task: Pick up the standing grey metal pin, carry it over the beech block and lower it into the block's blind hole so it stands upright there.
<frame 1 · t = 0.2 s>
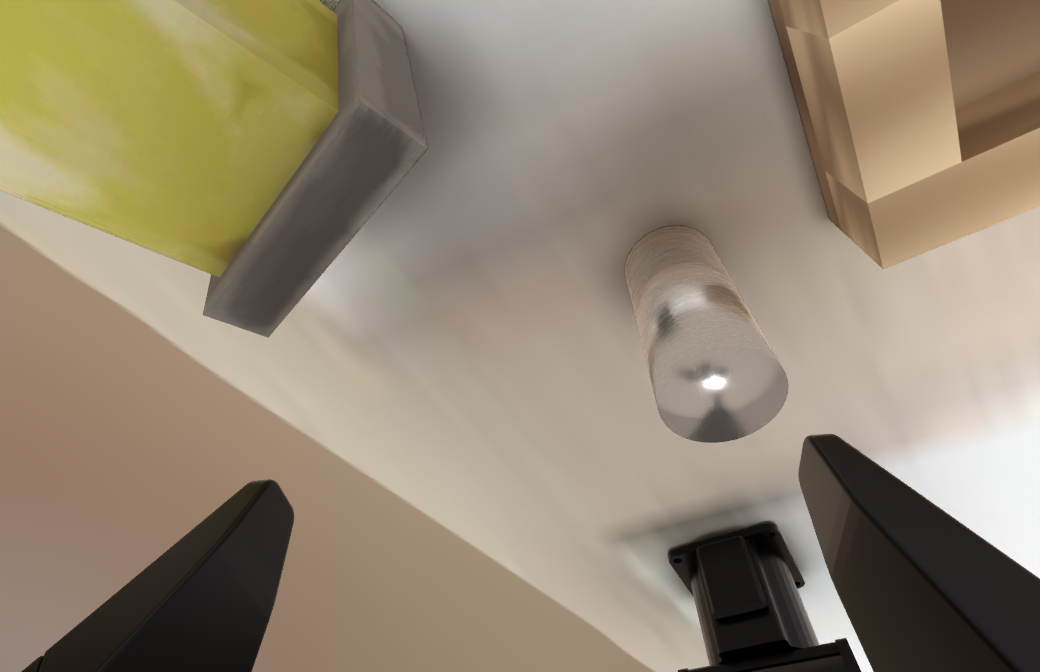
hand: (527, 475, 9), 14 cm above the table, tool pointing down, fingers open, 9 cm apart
bore block: (961, 10, 17), on the table
pin: (669, 267, 22), on the table
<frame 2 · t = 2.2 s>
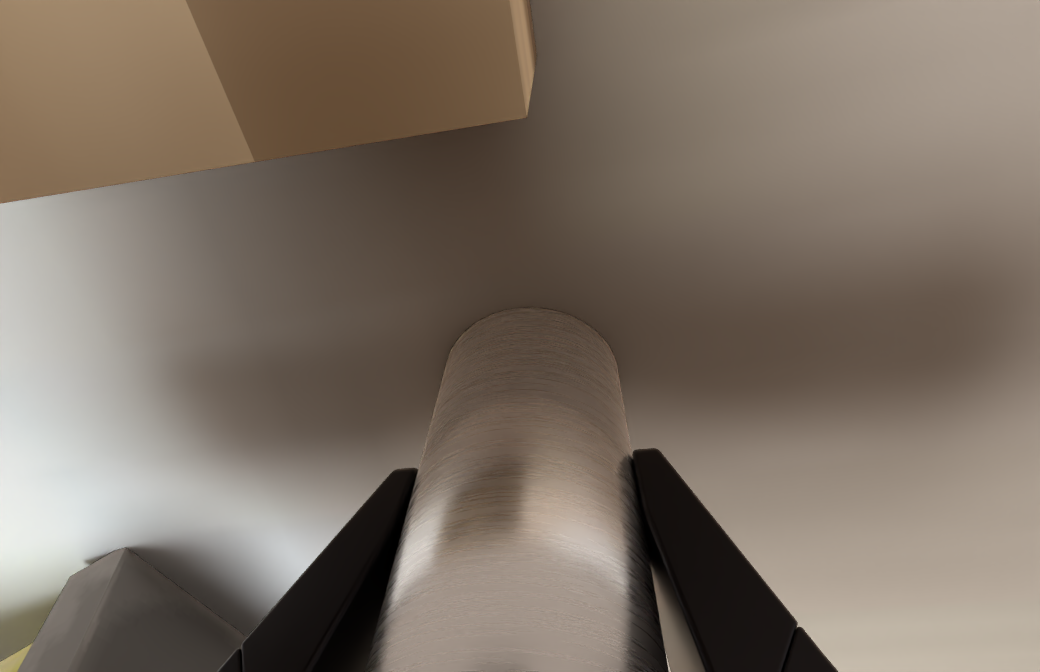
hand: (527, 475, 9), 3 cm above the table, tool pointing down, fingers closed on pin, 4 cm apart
pin: (531, 381, 11), on the table, touching gripper
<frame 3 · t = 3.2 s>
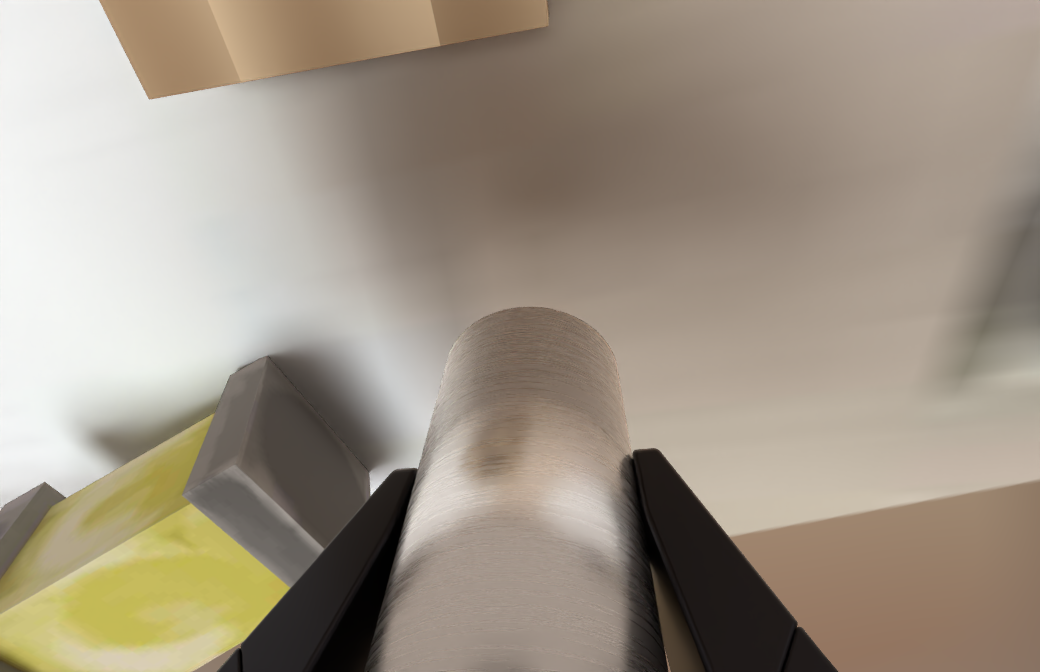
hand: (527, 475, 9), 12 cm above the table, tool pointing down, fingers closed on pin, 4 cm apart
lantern: (108, 490, 29), on the table
pin: (531, 380, 11), point 9 cm above the table, touching gripper
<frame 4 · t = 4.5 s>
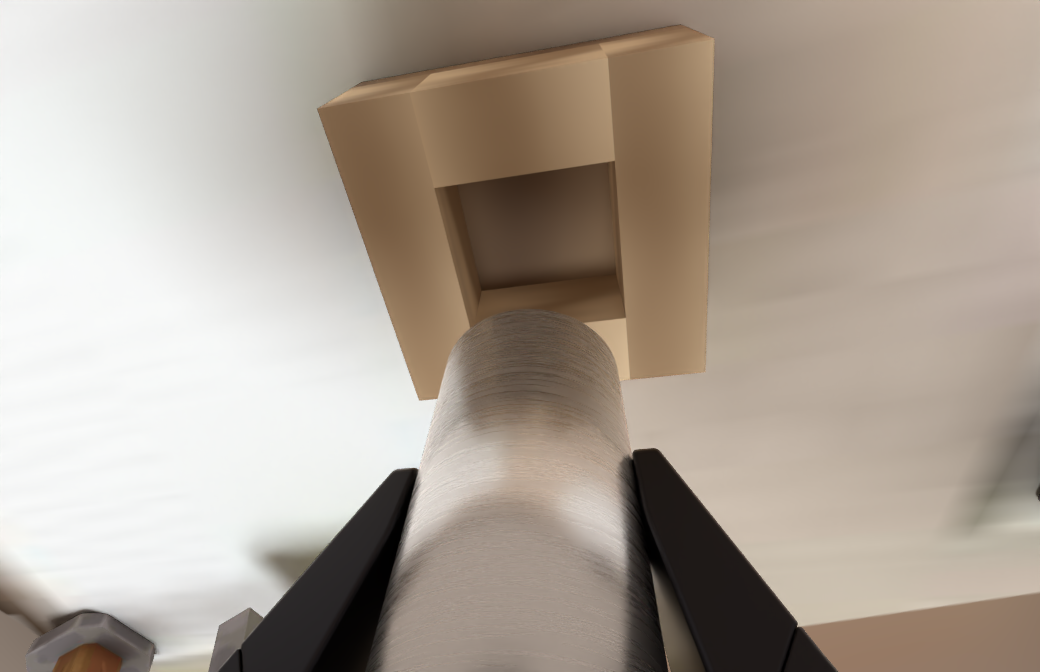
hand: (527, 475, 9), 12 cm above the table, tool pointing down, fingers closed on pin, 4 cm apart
bore block: (538, 208, 20), on the table
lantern: (265, 591, 35), on the table
pin: (531, 382, 11), point 10 cm above the table, touching gripper
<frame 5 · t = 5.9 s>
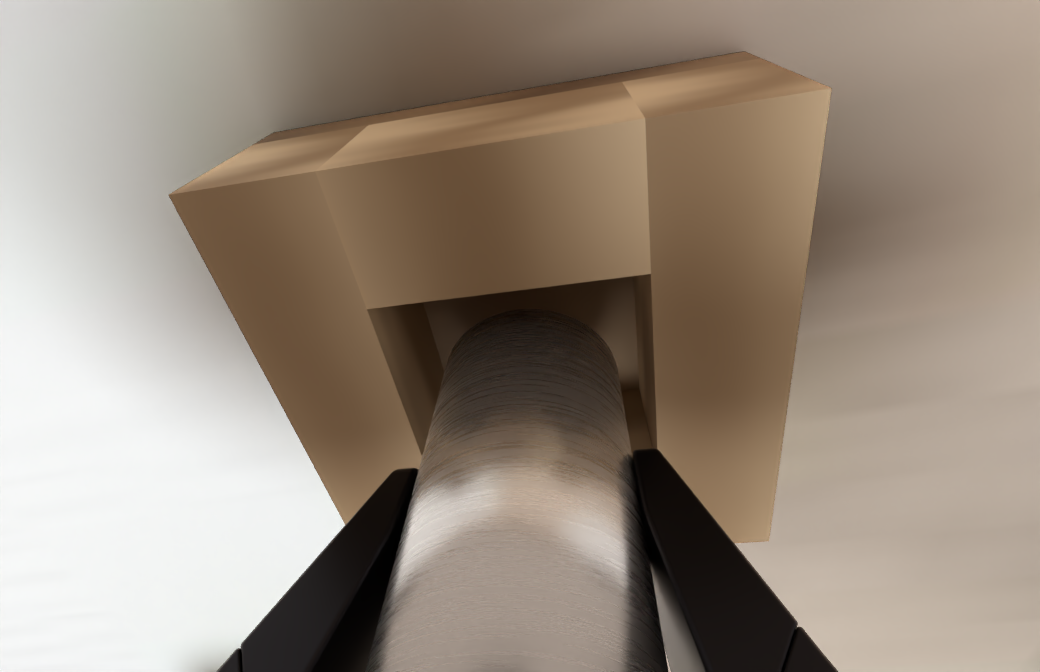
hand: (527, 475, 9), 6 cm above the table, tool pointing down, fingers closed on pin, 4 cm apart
bore block: (532, 299, 14), on the table
pin: (531, 382, 11), point 3 cm above the table, touching gripper
when the fingers open (5 cm above the table, at t = 6.9 s): pin drops 1 cm, resting on bore block.
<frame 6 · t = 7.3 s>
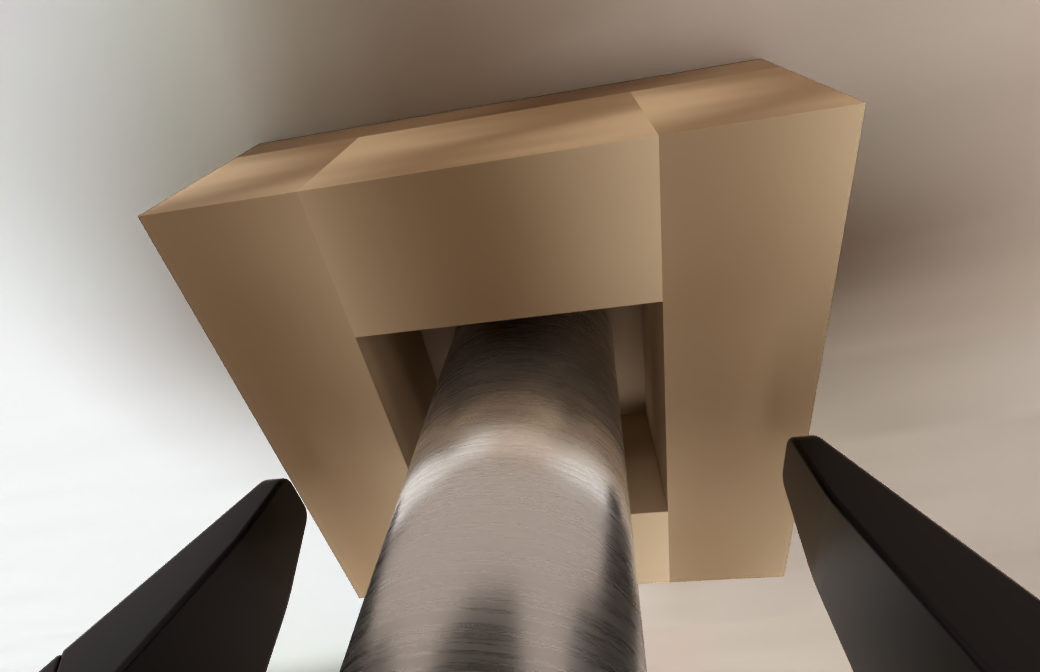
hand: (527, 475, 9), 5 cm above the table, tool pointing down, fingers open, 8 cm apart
bore block: (533, 318, 13), on the table
pin: (533, 344, 12), point 1 cm above the table, touching bore block
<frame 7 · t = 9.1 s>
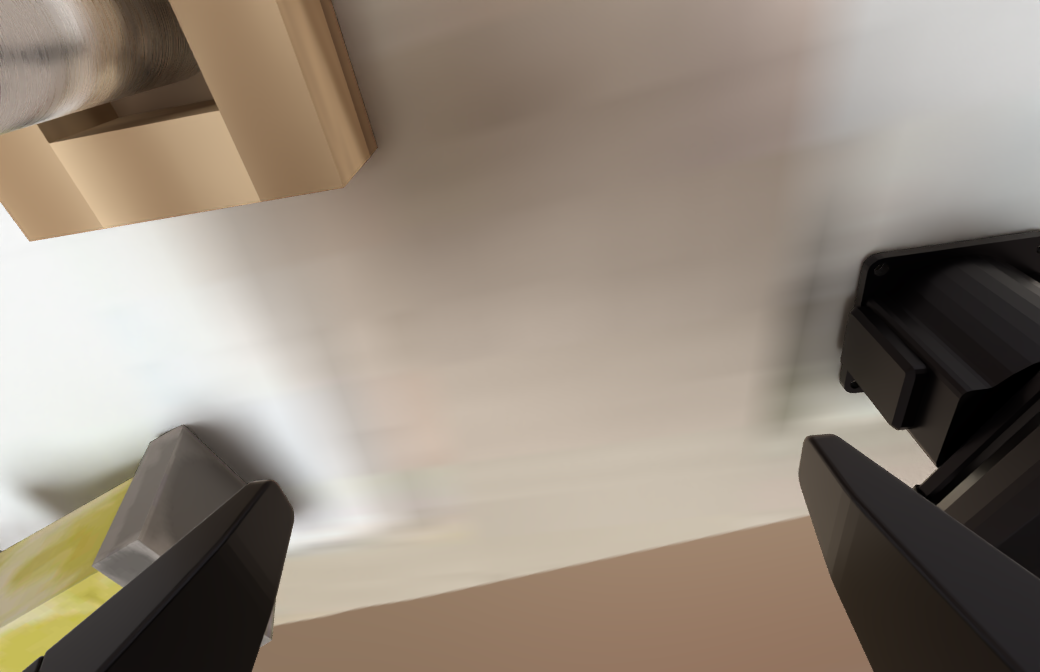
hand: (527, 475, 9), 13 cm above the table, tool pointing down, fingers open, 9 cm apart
bore block: (166, 9, 16), on the table
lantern: (46, 533, 32), on the table
pin: (148, 13, 16), point 1 cm above the table, touching bore block
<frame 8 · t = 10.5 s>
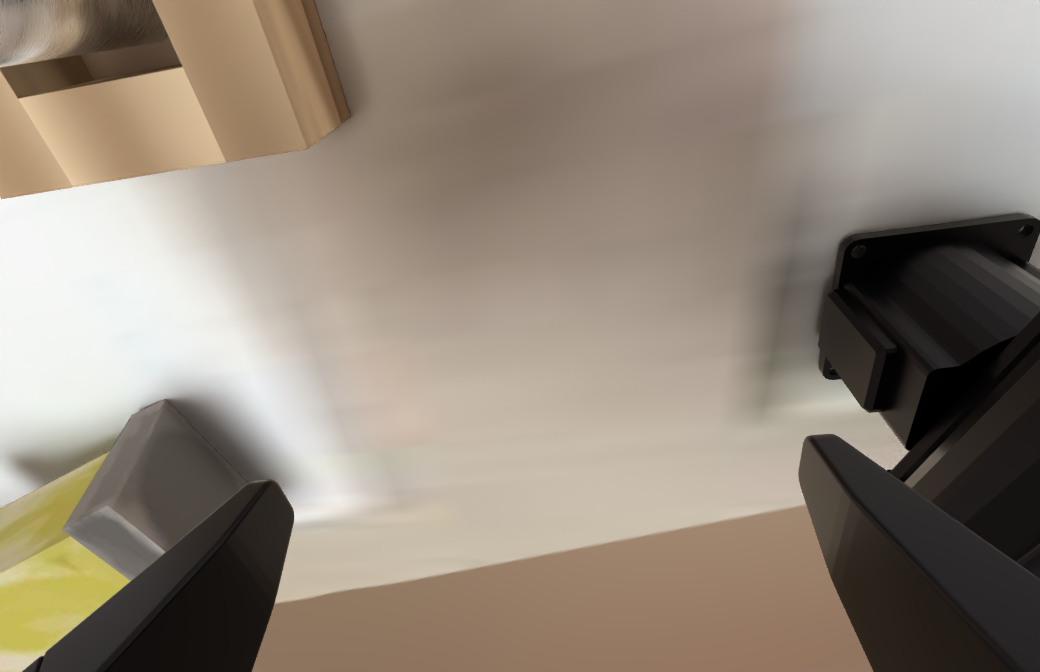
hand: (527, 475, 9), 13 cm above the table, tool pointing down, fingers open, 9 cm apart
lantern: (30, 505, 32), on the table
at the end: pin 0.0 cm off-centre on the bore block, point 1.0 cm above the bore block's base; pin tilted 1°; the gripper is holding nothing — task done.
